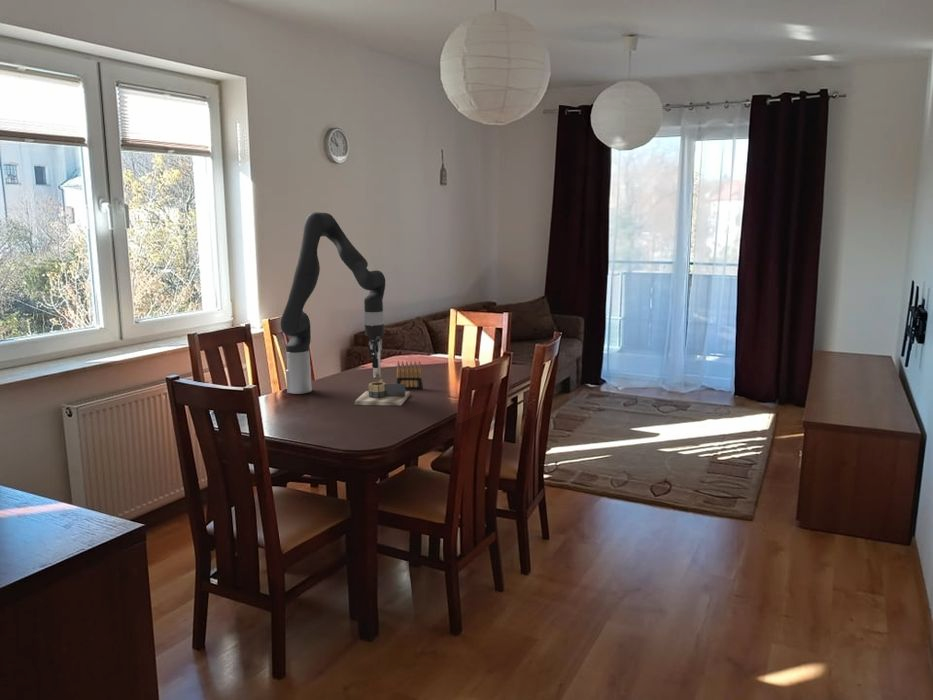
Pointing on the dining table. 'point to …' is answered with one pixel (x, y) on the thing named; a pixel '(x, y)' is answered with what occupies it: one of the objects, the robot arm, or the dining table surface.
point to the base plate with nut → (383, 394)
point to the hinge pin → (377, 370)
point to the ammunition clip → (410, 376)
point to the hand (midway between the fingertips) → (376, 366)
